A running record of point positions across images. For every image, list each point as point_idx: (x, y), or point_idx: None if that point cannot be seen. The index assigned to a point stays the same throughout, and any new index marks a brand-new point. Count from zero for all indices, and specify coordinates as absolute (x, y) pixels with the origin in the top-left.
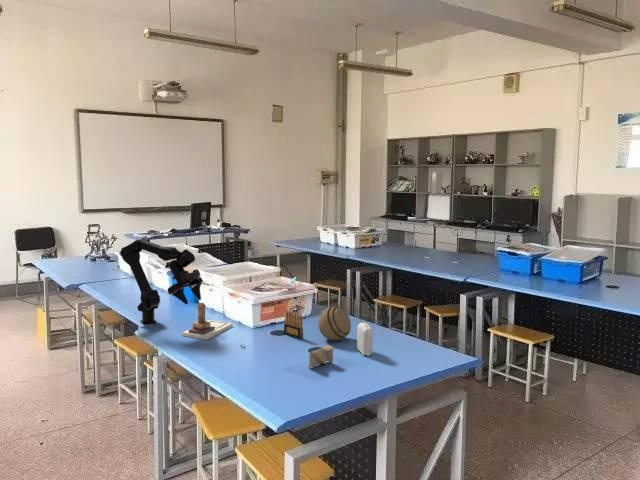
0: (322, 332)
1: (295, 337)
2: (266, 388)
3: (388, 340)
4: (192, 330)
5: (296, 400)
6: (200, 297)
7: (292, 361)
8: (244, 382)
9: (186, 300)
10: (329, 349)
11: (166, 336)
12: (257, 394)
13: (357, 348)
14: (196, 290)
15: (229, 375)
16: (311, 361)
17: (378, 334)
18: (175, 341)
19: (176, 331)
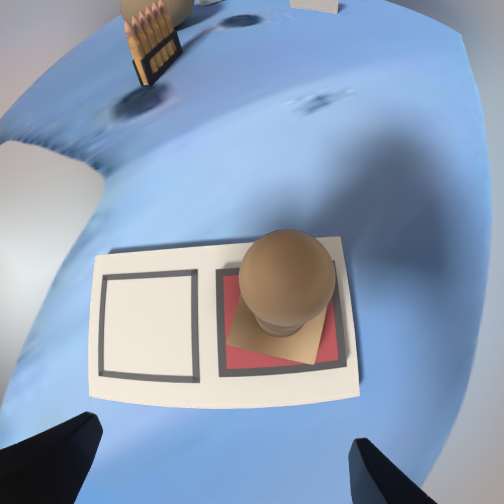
0: (184, 12)
1: (174, 59)
2: (435, 41)
3: None
4: (344, 338)
5: (425, 22)
6: (78, 420)
7: (326, 26)
8: (451, 61)
9: (380, 462)
10: None
11: (396, 447)
12: (454, 48)
13: (210, 2)
14: (25, 497)
15: (458, 81)
16: (333, 2)
17: (120, 24)
18: (433, 353)
19: (304, 469)
